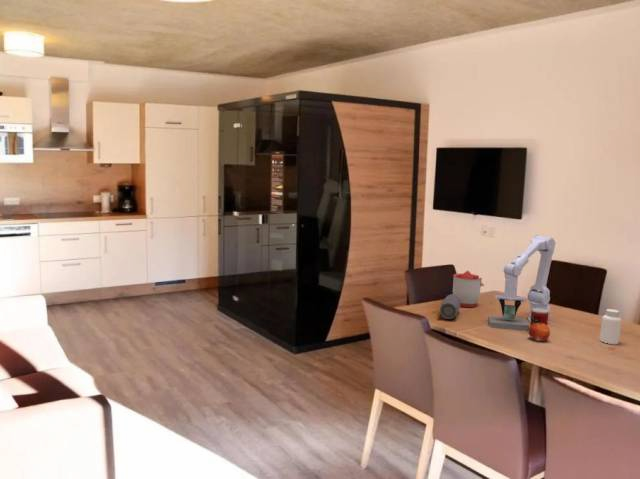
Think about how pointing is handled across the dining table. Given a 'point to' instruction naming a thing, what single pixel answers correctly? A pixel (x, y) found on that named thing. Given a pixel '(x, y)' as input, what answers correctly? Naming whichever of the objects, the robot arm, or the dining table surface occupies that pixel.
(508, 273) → the robot arm
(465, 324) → the dining table surface
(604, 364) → the dining table surface
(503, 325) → the base board
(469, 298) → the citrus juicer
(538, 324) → the tomato
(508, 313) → the teal block
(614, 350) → the dining table surface
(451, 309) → the bluetooth speaker
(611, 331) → the pill bottle
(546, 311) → the canned food
